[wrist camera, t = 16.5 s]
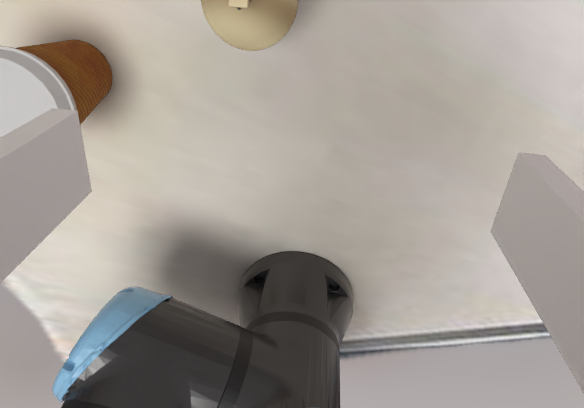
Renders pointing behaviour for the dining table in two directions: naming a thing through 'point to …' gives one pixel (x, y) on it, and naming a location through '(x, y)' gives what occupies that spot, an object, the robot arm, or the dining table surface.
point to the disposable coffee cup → (50, 81)
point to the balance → (250, 21)
